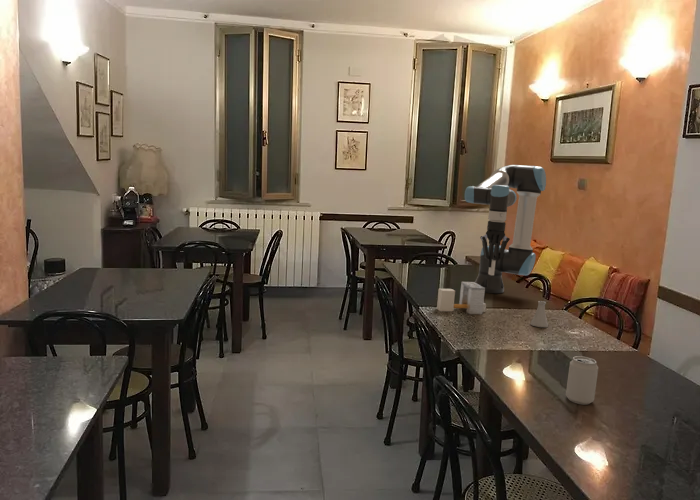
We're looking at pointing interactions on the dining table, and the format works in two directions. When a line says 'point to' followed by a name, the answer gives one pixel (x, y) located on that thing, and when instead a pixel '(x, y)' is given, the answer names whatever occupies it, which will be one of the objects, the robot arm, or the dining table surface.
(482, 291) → the housing
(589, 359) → the can
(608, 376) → the dining table surface
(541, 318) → the flask
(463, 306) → the white and wooden mallet
